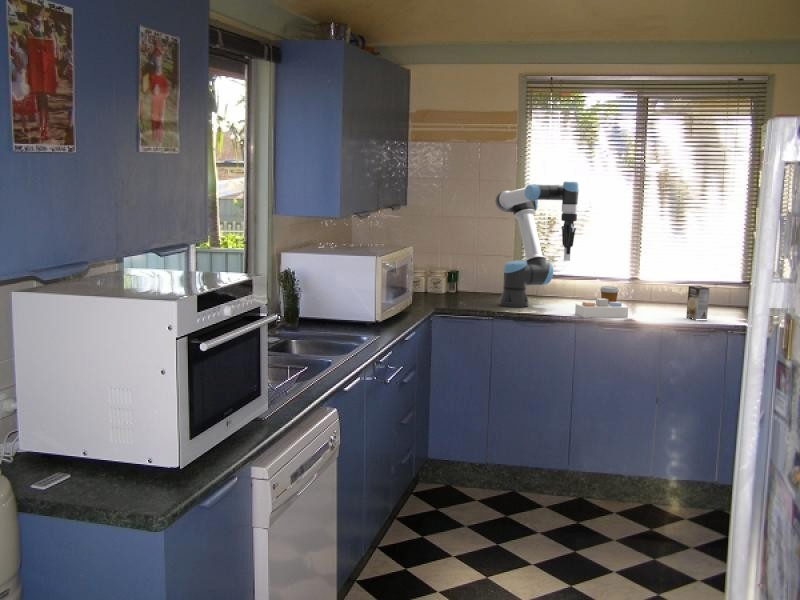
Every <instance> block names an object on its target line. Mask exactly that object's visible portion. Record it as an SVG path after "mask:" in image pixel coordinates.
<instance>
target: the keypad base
mask: <svg viewBox="0 0 800 600" xmlns="http://www.w3.org/2000/svg"><path fill="white" fill-rule="evenodd" d="M574 309H575V310H574V314H575V315H576V314H578V315H577V316H579V315H580V316H579V317H581V316H582V317H581V318H583V319H584V318H586V319H587V318H589V319H590V317H597V318H628V316H629V307H628V306H626V305H624V304H621V306H610V305H609V304H608V306H601V307H599V306H596V303H595V307H585V306H583V305H582V303H575V307H574Z"/></svg>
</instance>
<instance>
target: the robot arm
mask: <svg viewBox="0 0 800 600" xmlns="http://www.w3.org/2000/svg"><path fill="white" fill-rule="evenodd" d="M579 190H580V189H579V182H577V181H563V184H535V183H534V184H527V186H526V187H523V188H519V189H514V190H503V191H500V192H498V193H497V195H496V196H495V199H494V202H495V206H496V207H497V208H498V210H499V211H501V212H504V213H513V217H514V218H515V219H517V221H518V222H517V223H518V227H519V231H520V235H521V241H522V244H523V249H524V253H525V259H526V260H523V259H518V260H517V259H515V260H510V261H507V262H506V263H504V268H503V290H502V293H501V295H500V298H499V300H498V301H499V302H498V303H499V304H500V305H499V304H498V305H499V306H501V305H503V306H502V307H506V306H509V307H508V308H525V307H524V306H527V307H529V300H528V296H527V292H526V291H527V290H526V287H527V286H544V285H548V284H550V283H551V281H552V279H553V276H554V266H553V264H552V263H551V262H548V261H547V257H546V256H544V255H543V252H542V248H541V244H540V239H539V235H538V234H539V233H538V230H537V227H536V221H535V217H534V215H536V211H537V209H538V208H539V207H538V206H539V205H538V200H539V201H544V200H545V201H561V202H562V203H561V218H560V219H561V221H562V222H563V226H562V225H561V236H562V237H561V238H562V239H561V240H562V246H563V247H564V249H563V251H564V252H563V261H567V262H569V261H571V251H572V250H571V249H572V247H573V246H574V240H575V235H576V234H575V233H576V229H577V228H576V227H575V225H574V222H577V220H578V214H577V213H578V209H579V206H578V202H579Z"/></svg>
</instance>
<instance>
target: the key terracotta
mask: <svg viewBox="0 0 800 600" xmlns="http://www.w3.org/2000/svg"><path fill="white" fill-rule="evenodd" d="M581 304H582V305H583V306H585V307H595V304H596V302H594V301H582V303H581Z"/></svg>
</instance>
